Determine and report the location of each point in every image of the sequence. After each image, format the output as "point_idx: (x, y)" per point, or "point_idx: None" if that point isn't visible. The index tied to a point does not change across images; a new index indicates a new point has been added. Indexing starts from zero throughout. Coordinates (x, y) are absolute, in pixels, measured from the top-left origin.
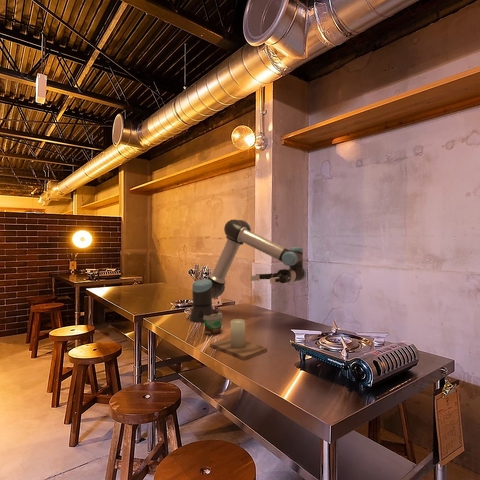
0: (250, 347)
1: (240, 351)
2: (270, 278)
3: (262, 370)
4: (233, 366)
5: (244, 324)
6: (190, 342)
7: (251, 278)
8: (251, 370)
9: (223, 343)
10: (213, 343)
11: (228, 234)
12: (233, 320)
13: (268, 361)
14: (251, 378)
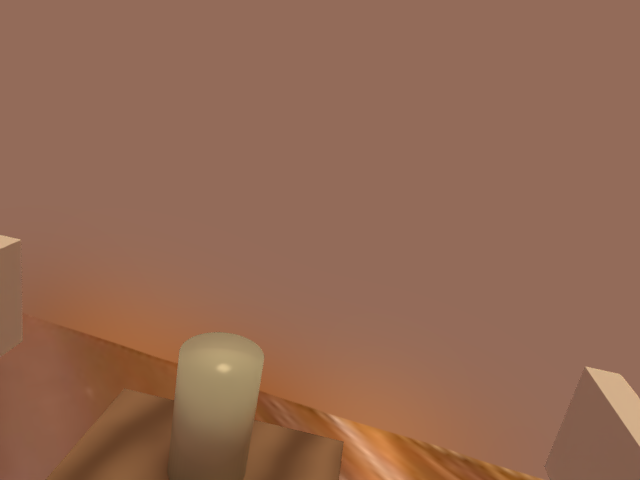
0: (130, 471)
1: (161, 419)
2: (5, 240)
3: (27, 364)
4: (144, 360)
5: (178, 368)
6: (455, 462)
7: (567, 425)
8: (70, 356)
9: (291, 464)
10: (332, 447)
11: None
12: (250, 355)
13: (7, 422)
14: (57, 326)
